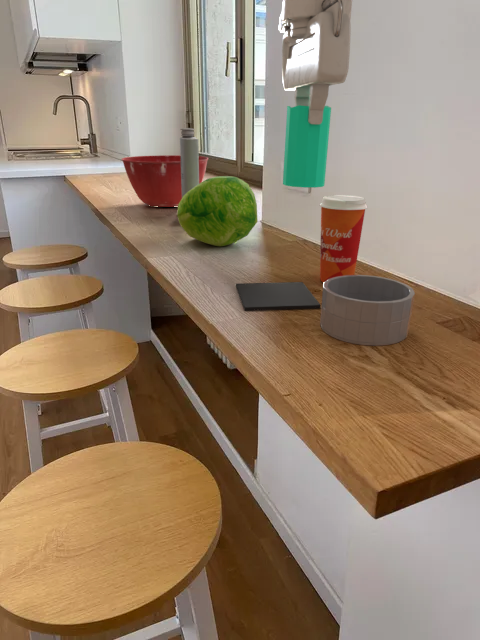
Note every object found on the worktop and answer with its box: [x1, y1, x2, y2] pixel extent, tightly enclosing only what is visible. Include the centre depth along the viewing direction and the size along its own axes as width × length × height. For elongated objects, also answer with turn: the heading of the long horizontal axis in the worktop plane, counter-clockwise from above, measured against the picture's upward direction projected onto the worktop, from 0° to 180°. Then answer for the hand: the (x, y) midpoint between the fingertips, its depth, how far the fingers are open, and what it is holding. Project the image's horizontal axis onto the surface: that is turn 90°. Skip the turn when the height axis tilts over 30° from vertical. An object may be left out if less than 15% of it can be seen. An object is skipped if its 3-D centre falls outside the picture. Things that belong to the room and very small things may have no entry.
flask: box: [179, 127, 200, 198], centre depth 138 cm, size 17×5×25 cm, turn 7°
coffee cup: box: [319, 194, 368, 284], centre depth 88 cm, size 8×8×15 cm
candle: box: [282, 95, 332, 189], centre depth 69 cm, size 6×6×12 cm
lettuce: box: [176, 175, 258, 247], centre depth 114 cm, size 17×20×17 cm
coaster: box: [235, 281, 322, 312], centre depth 82 cm, size 12×12×1 cm
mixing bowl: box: [120, 154, 209, 207], centre depth 165 cm, size 28×28×15 cm
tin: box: [319, 274, 416, 347], centre depth 69 cm, size 12×12×6 cm
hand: (308, 124), depth 69 cm, fingers closed on candle, 5 cm apart
